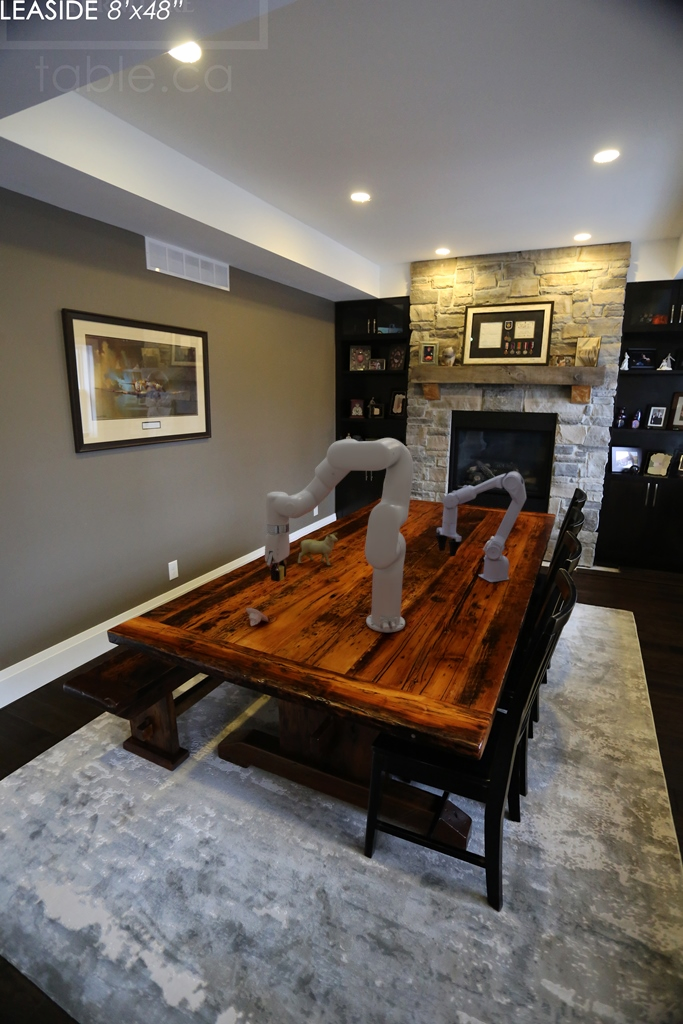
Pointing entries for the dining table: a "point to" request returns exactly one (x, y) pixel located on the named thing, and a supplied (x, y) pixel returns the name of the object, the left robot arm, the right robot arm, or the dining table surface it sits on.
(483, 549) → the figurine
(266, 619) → the seashell
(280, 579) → the tin
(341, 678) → the dining table surface
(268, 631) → the dining table surface
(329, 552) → the toy
